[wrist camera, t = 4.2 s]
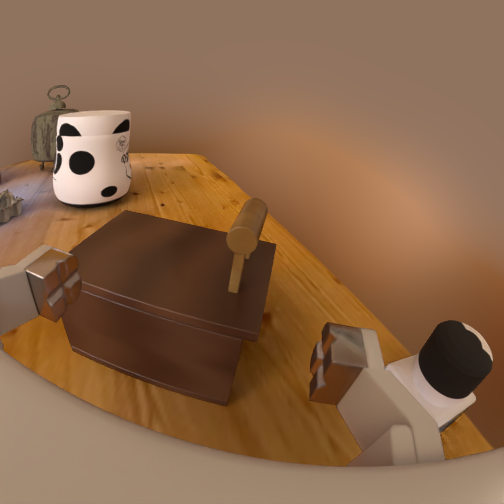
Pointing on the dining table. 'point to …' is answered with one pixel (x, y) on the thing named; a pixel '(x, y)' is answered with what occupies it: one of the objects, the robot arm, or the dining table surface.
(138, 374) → the chest
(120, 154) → the milk container
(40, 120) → the tabletop clock
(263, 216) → the chest lid
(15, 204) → the egg carton
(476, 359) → the medicine bottle
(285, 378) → the dining table surface
